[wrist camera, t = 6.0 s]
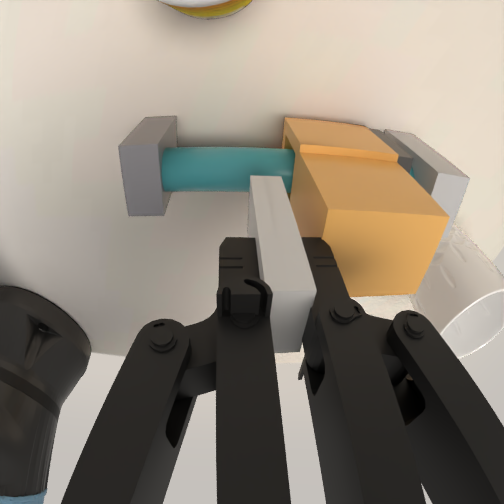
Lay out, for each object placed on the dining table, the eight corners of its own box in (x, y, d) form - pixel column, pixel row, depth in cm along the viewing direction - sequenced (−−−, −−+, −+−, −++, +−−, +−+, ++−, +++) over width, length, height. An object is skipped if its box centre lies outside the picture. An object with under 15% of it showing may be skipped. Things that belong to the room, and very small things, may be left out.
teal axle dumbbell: (150, 177, 21) (122, 236, 15) (145, 112, 18) (107, 151, 13) (400, 186, 22) (445, 241, 17) (414, 130, 19) (471, 173, 14)
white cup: (428, 282, 29) (470, 361, 21) (371, 267, 27) (411, 361, 19) (472, 221, 25) (531, 296, 17) (417, 194, 23) (486, 280, 15)
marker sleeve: (277, 189, 20) (306, 305, 13) (284, 117, 17) (330, 197, 10) (350, 193, 21) (412, 300, 13) (364, 125, 18) (453, 207, 10)
